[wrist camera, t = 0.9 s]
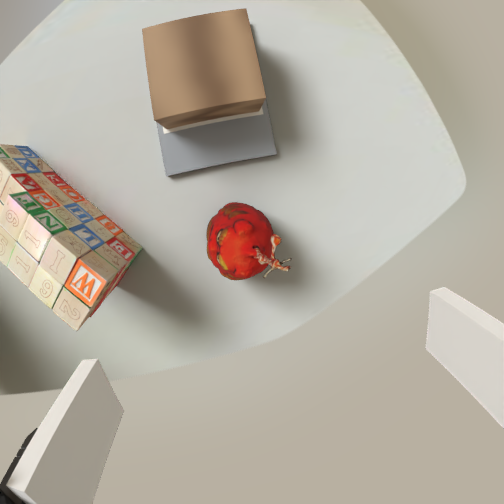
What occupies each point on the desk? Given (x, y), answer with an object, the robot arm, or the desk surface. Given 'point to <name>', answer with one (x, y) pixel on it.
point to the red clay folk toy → (242, 242)
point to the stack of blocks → (58, 238)
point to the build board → (217, 141)
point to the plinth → (202, 68)
